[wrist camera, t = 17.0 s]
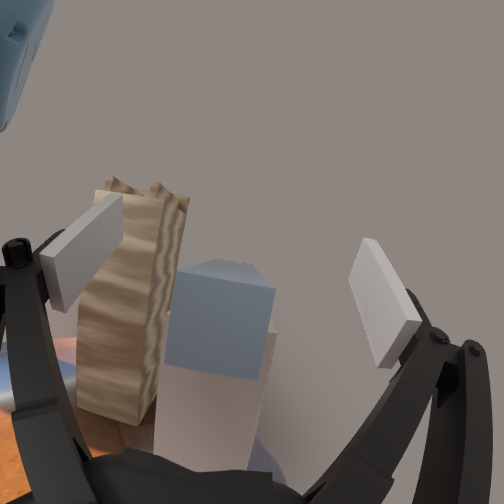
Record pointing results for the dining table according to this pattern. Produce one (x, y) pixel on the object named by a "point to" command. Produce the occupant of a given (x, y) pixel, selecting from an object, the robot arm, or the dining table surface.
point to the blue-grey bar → (219, 319)
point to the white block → (208, 413)
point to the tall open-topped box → (129, 305)
